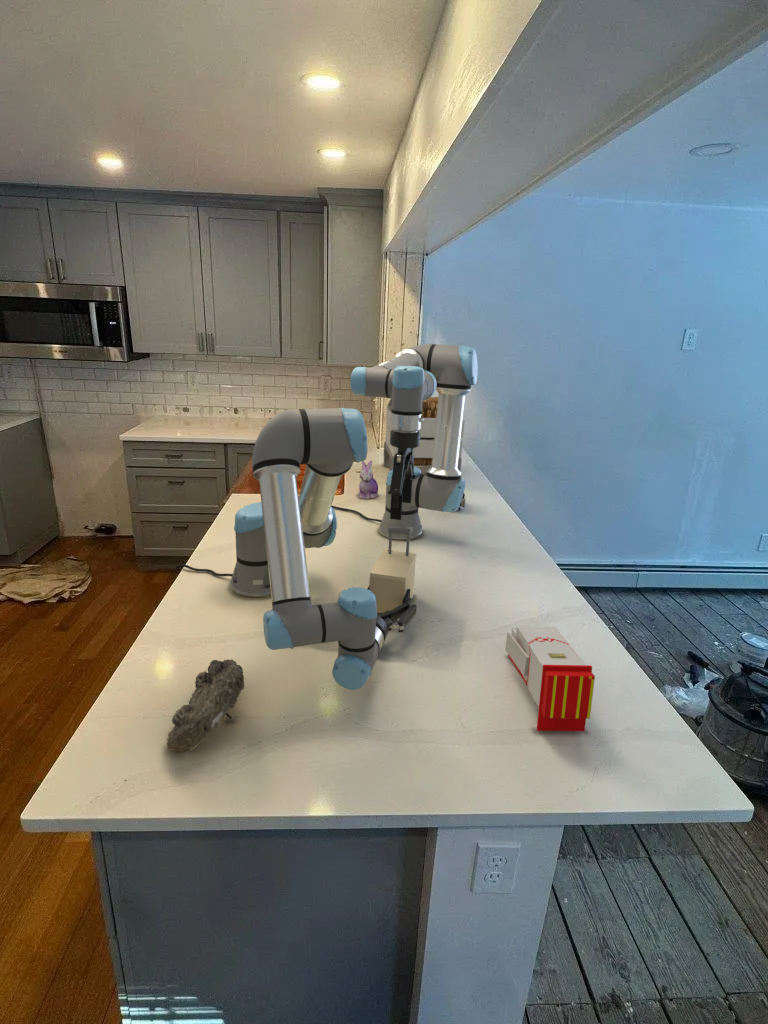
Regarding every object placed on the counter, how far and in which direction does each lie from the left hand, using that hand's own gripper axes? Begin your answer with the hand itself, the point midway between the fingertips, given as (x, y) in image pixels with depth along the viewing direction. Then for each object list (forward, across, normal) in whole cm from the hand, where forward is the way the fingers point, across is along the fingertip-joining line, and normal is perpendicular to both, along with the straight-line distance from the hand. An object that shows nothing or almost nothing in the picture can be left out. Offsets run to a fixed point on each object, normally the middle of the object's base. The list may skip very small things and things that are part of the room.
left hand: (389, 590), depth 146 cm
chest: (+3, 0, -6) cm, 7 cm away
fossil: (-49, -24, -6) cm, 55 cm away
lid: (+4, 0, +5) cm, 6 cm away
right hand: (+9, 0, +19) cm, 21 cm away
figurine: (+91, -29, -6) cm, 96 cm away
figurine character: (+90, +7, -6) cm, 91 cm away
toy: (-22, +38, -6) cm, 44 cm away
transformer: (+134, -15, -6) cm, 135 cm away
